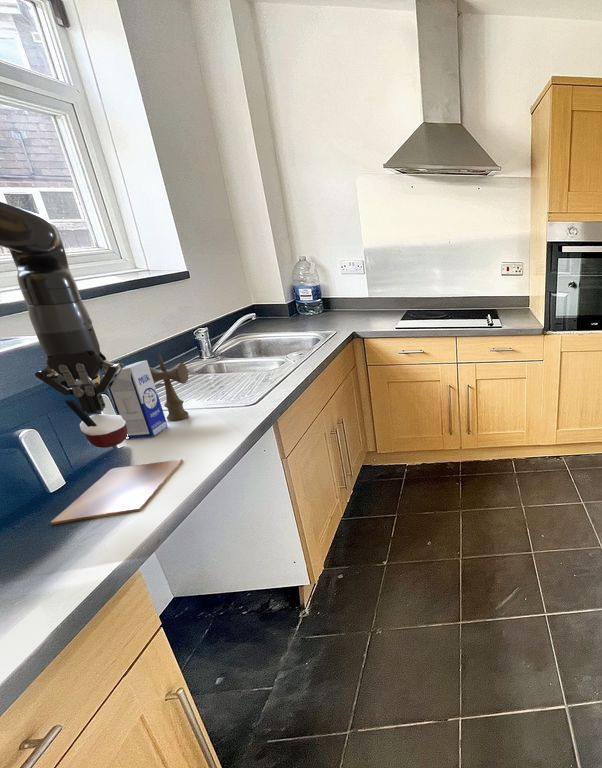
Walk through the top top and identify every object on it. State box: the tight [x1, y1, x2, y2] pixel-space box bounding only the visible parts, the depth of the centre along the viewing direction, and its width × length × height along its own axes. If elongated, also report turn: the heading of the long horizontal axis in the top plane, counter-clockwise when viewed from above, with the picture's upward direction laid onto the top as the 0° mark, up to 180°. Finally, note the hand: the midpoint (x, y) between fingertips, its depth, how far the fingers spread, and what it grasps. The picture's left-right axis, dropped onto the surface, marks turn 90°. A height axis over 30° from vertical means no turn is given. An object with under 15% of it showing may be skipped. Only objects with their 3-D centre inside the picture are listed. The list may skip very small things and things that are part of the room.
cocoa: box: [64, 399, 128, 449], centre depth 83 cm, size 10×6×12 cm, turn 165°
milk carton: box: [102, 359, 169, 440], centre depth 111 cm, size 7×7×20 cm
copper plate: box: [50, 459, 184, 526], centre depth 89 cm, size 14×20×1 cm
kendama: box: [149, 353, 189, 421], centre depth 120 cm, size 6×10×20 cm, turn 107°
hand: (96, 412), depth 83 cm, fingers closed
